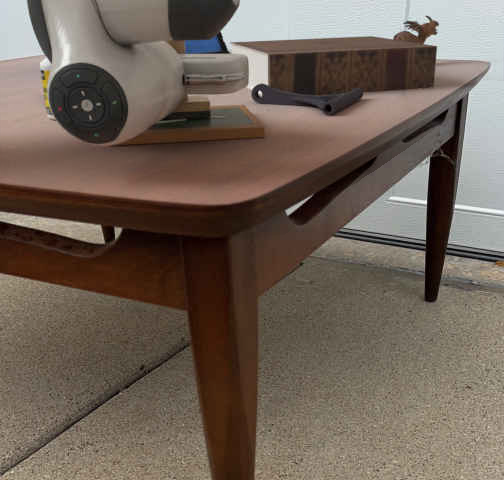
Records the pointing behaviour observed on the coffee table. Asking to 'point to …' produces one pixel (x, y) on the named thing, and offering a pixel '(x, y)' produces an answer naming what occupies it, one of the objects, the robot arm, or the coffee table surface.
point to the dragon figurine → (422, 30)
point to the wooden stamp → (189, 104)
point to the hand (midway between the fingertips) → (175, 65)
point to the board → (204, 127)
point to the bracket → (305, 98)
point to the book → (339, 64)
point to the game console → (207, 46)
